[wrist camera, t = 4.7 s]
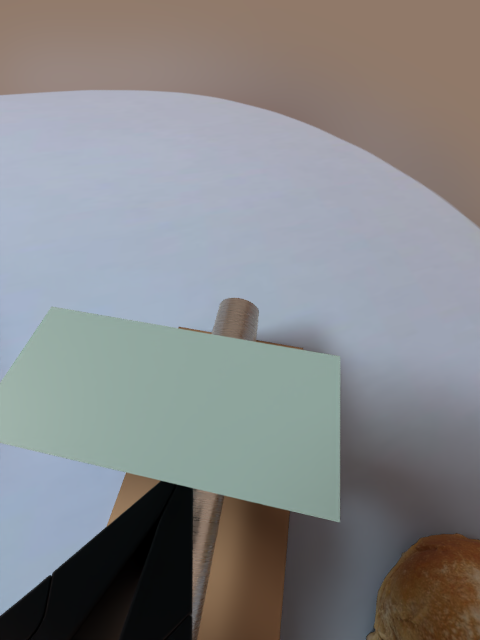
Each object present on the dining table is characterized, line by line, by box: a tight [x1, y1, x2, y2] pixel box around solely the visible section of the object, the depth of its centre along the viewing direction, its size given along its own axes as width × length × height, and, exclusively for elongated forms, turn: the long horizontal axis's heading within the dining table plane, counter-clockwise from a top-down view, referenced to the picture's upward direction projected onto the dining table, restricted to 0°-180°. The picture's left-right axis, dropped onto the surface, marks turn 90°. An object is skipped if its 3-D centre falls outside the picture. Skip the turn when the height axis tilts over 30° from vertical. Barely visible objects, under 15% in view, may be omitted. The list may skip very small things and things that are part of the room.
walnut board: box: [107, 327, 303, 640], centre depth 15 cm, size 19×9×1 cm, turn 169°
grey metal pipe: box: [192, 298, 259, 640], centre depth 13 cm, size 18×3×5 cm, turn 169°
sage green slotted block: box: [0, 307, 340, 522], centre depth 10 cm, size 3×7×11 cm, turn 79°
